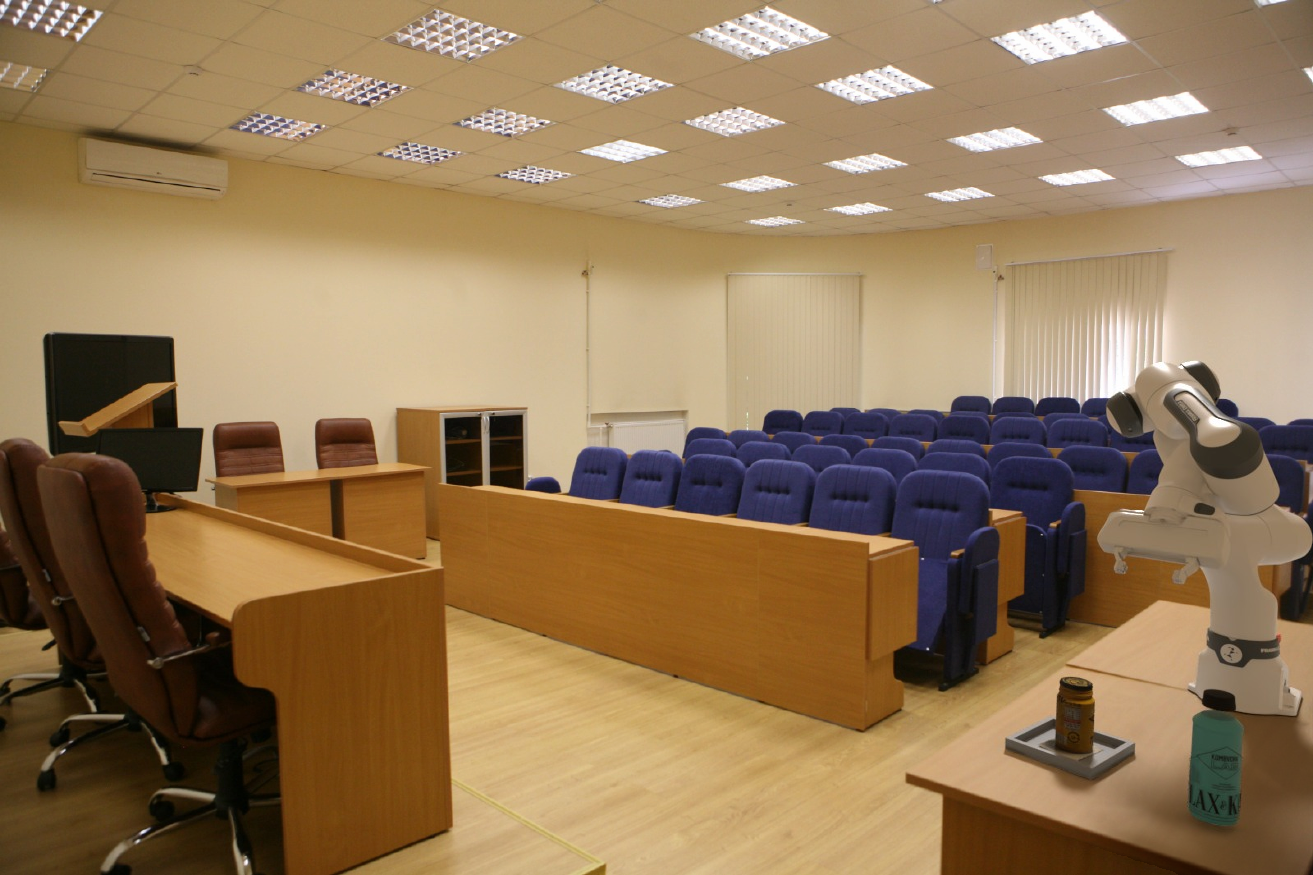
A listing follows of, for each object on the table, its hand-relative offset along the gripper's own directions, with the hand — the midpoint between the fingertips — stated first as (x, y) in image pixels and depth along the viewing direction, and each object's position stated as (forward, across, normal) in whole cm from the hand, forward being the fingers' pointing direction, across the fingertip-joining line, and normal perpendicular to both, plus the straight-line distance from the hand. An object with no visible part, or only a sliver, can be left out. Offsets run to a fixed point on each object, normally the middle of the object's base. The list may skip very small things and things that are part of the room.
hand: (1147, 576), depth 144 cm
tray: (+29, -8, +16) cm, 34 cm away
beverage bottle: (+35, +17, +10) cm, 40 cm away
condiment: (+28, -8, +15) cm, 33 cm away
